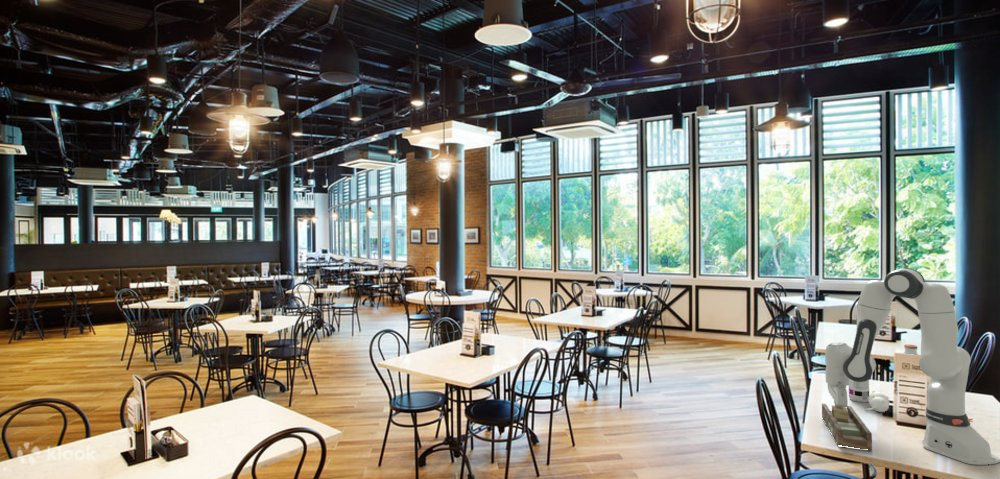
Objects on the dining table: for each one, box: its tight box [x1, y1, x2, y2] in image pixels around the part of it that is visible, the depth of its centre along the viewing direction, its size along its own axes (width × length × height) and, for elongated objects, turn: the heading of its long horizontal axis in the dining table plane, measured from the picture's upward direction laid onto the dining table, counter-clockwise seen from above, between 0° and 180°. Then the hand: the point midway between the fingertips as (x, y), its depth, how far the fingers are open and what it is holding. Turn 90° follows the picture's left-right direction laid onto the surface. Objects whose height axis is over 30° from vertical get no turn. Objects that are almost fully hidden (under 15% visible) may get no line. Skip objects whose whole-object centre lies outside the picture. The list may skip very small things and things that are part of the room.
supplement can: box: [848, 379, 870, 403], centre depth 249 cm, size 8×8×15 cm
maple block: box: [831, 404, 848, 420], centre depth 218 cm, size 5×5×4 cm
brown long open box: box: [821, 403, 873, 451], centre depth 210 cm, size 32×11×7 cm, turn 157°
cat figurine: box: [864, 390, 890, 413], centre depth 235 cm, size 9×11×12 cm
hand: (838, 410), depth 222 cm, fingers closed
